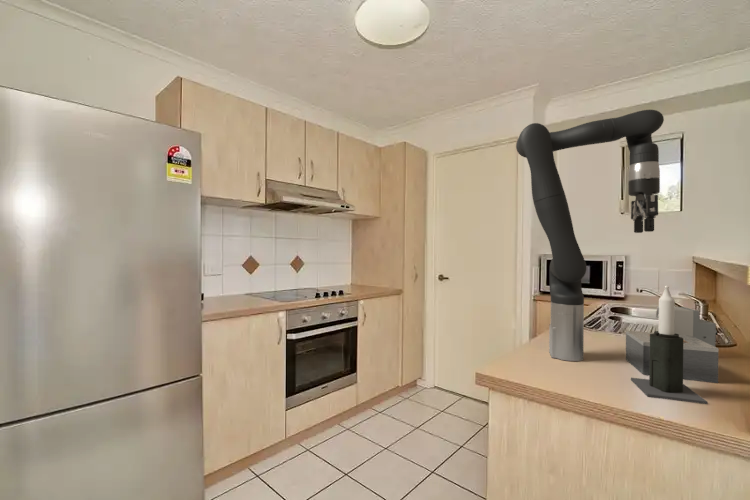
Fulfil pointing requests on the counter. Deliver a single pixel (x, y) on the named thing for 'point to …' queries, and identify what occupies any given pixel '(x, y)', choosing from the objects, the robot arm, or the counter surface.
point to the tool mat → (656, 393)
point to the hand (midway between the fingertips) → (643, 232)
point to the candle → (666, 350)
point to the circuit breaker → (693, 325)
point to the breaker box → (696, 356)
